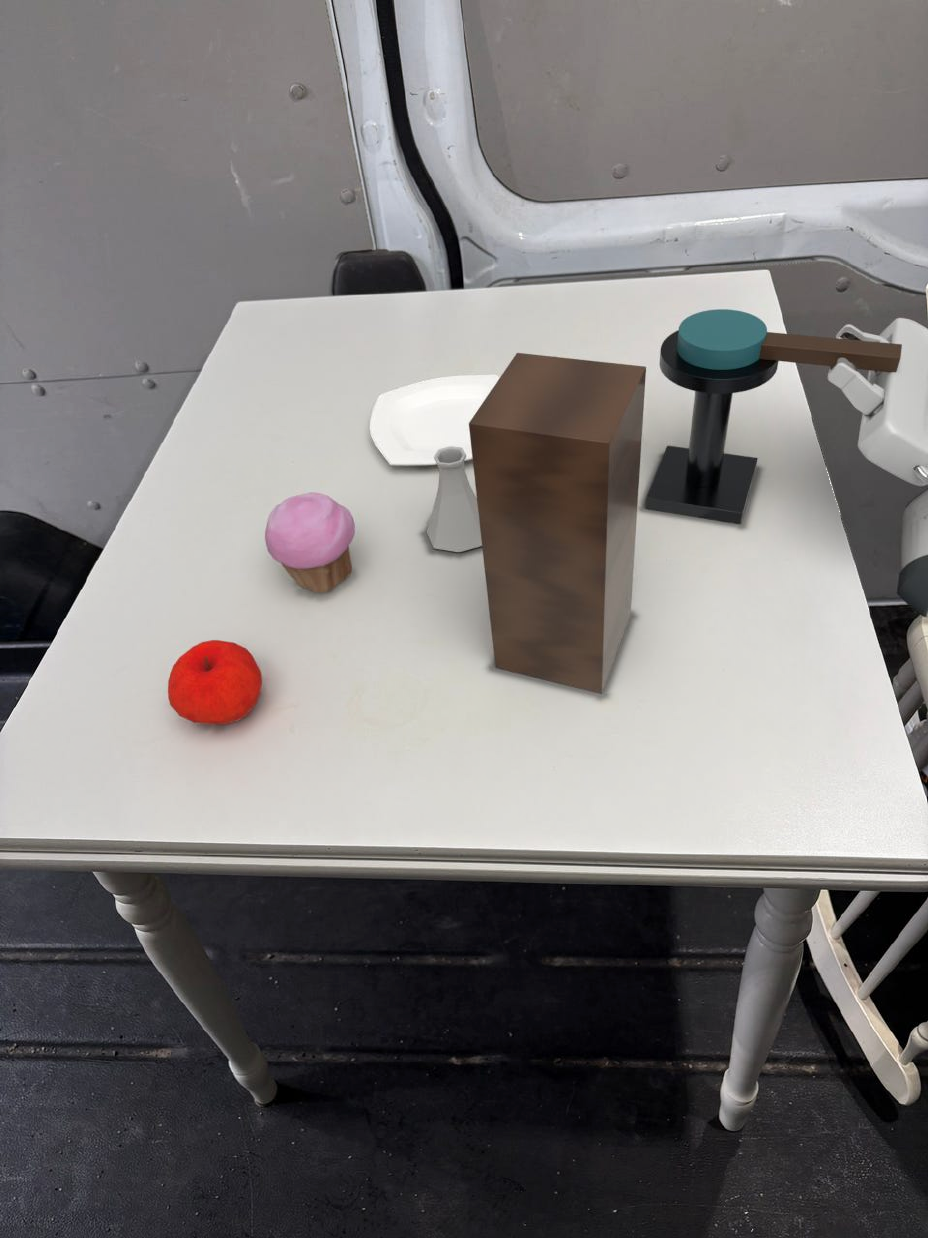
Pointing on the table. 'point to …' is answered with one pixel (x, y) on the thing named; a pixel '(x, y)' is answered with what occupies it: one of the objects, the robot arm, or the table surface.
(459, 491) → the flask
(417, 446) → the plate
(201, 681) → the apple
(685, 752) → the table surface
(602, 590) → the pedestal
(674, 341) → the display stand
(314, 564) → the cupcake
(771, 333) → the disc paddle
